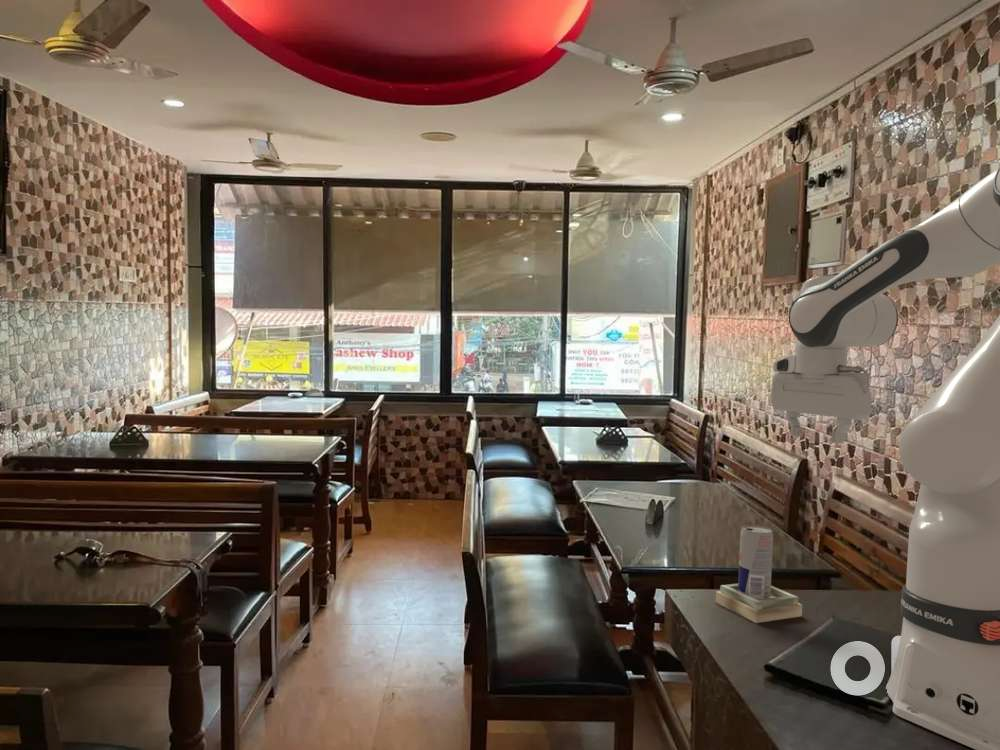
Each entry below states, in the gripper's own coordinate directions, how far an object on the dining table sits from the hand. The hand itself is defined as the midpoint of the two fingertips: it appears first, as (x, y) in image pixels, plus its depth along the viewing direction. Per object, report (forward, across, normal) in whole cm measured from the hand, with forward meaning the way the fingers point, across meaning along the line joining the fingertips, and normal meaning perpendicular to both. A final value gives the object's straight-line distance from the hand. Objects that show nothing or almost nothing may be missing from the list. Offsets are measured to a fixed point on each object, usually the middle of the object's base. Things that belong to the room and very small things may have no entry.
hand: (816, 439), depth 132 cm
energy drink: (+27, -3, +16) cm, 32 cm away
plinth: (+29, -3, +15) cm, 33 cm away
